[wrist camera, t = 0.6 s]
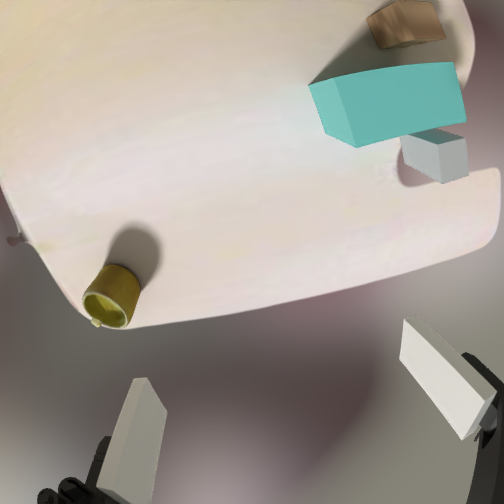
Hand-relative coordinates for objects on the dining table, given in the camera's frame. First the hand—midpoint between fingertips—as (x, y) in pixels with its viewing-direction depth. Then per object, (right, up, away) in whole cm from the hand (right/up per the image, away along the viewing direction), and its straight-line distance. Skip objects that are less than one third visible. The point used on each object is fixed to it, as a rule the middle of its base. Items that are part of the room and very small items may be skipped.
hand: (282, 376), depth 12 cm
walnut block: (+17, +36, +12) cm, 42 cm away
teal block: (+14, +27, +18) cm, 35 cm away
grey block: (+23, +22, +21) cm, 38 cm away
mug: (-27, -1, +35) cm, 44 cm away
